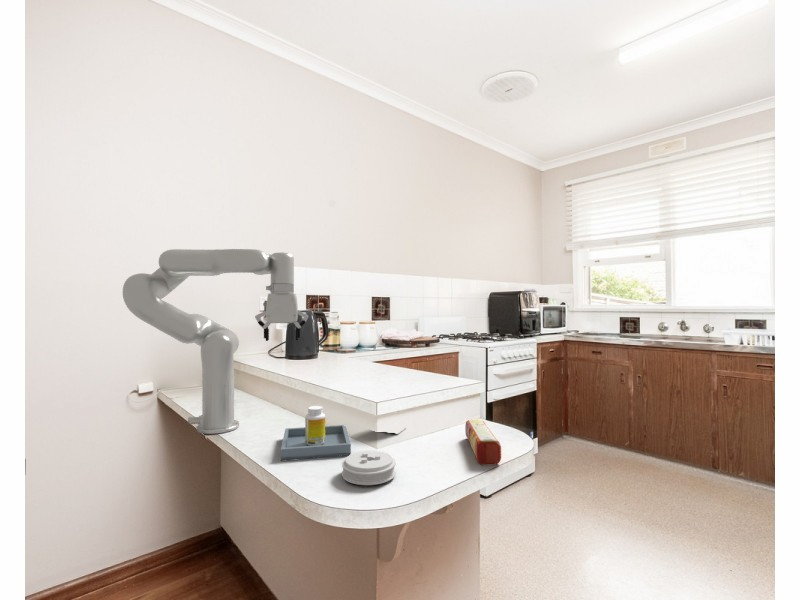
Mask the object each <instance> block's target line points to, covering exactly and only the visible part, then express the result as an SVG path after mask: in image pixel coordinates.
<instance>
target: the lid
mask: <svg viewBox="0 0 800 600" xmlns="http://www.w3.org/2000/svg"><path fill="white" fill-rule="evenodd" d="M396 464H397V461H396V459H395V458H394V456H392V455H391V454H390V453H387V452H385V451H381V450H362V451H361V450H360V451H357V452H353V453H351V454H350V455H349V456H346V457H345V458H344V459H343V460H342V462H341V468H342V471H341V476H342V478H343V480H344V481H347V482H349V483H351V484H353V485H354V484H355V485H359V486H375V485H381V484H384V483H387V482H389V481H391V480H392V479H393V478H395V476H396V474H397V470H396V469H395V468H396V467H395V466H396Z"/></svg>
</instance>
